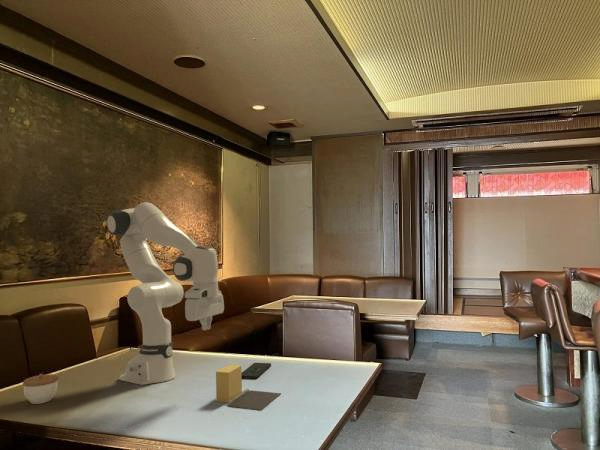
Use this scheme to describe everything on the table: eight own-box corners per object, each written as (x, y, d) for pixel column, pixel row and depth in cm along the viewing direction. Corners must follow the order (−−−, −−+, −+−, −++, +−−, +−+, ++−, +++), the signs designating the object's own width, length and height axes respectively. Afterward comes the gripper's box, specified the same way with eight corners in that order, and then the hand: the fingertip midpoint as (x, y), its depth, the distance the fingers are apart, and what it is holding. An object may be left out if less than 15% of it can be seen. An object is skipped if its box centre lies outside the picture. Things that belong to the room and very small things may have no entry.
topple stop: (225, 406, 145) (225, 403, 145) (247, 390, 160) (247, 388, 160) (261, 410, 140) (261, 407, 140) (280, 394, 155) (280, 391, 155)
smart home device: (237, 375, 176) (254, 362, 195) (237, 379, 176) (254, 366, 195) (257, 376, 174) (271, 362, 193) (257, 380, 174) (272, 366, 193)
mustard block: (216, 401, 150) (215, 371, 151) (229, 392, 159) (229, 364, 159) (229, 402, 148) (228, 372, 149) (241, 394, 157) (241, 365, 157)
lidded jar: (21, 408, 147) (21, 380, 148) (24, 399, 157) (24, 372, 157) (57, 402, 152) (57, 375, 153) (58, 393, 162) (58, 368, 162)
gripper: (213, 288, 169) (214, 324, 169) (181, 293, 150) (182, 334, 149) (227, 288, 167) (228, 324, 166) (197, 294, 148) (197, 335, 147)
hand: (206, 329), depth 158 cm, fingers closed
